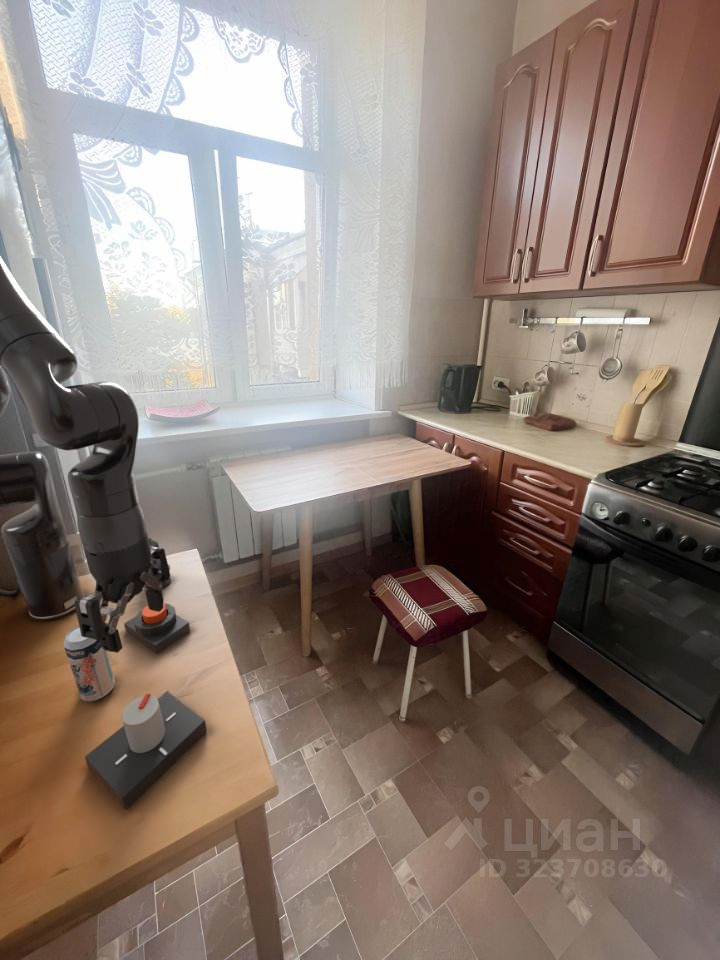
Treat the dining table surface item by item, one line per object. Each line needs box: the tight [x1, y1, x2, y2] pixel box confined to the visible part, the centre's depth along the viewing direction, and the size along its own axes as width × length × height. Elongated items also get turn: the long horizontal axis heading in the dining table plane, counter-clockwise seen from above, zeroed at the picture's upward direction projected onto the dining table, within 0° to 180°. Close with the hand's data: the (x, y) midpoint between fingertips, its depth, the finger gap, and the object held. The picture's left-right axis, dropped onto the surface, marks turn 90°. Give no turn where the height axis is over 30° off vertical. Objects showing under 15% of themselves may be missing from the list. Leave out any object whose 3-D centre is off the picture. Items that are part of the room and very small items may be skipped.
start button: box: [141, 603, 167, 624], centre depth 74 cm, size 4×4×2 cm
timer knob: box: [121, 693, 165, 753], centre depth 53 cm, size 4×4×6 cm
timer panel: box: [84, 691, 208, 811], centre depth 55 cm, size 9×12×3 cm
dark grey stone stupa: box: [146, 537, 172, 590], centre depth 88 cm, size 6×6×12 cm
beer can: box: [63, 625, 116, 702], centre depth 62 cm, size 5×5×12 cm
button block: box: [123, 603, 191, 655], centre depth 75 cm, size 10×7×4 cm
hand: (136, 628), depth 59 cm, fingers open, 8 cm apart
